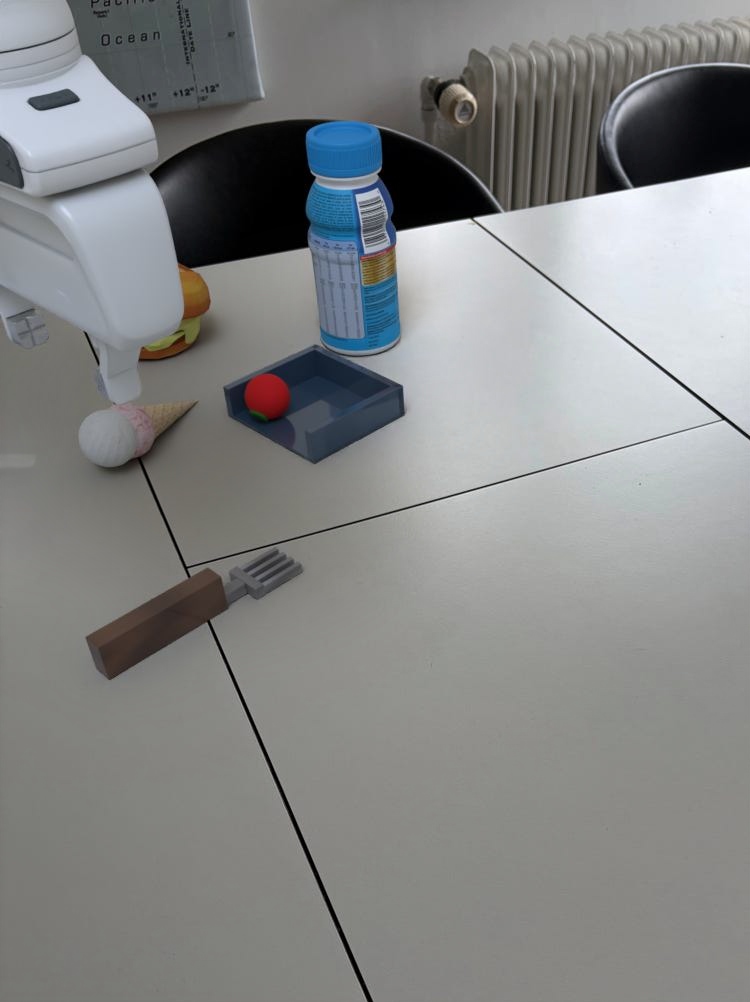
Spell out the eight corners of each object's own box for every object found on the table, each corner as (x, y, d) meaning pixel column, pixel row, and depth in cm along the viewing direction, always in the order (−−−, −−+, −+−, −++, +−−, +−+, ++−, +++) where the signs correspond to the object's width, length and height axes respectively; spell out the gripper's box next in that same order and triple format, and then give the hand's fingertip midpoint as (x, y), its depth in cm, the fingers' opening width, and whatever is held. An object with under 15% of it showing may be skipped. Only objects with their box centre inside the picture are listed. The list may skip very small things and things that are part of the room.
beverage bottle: (316, 359, 103) (290, 147, 90) (323, 321, 110) (299, 117, 96) (401, 358, 104) (388, 145, 90) (403, 319, 110) (391, 115, 96)
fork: (116, 685, 70) (104, 653, 68) (89, 663, 71) (78, 631, 69) (303, 571, 79) (298, 540, 77) (276, 554, 80) (270, 523, 78)
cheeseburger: (115, 317, 110) (116, 224, 104) (216, 341, 112) (223, 251, 105) (85, 361, 103) (84, 265, 96) (194, 386, 104) (200, 293, 98)
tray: (228, 415, 96) (222, 386, 94) (318, 372, 101) (315, 343, 99) (314, 463, 90) (310, 433, 88) (405, 414, 96) (403, 385, 93)
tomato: (305, 391, 95) (287, 431, 94) (272, 381, 96) (254, 420, 96) (281, 371, 91) (262, 413, 91) (247, 361, 93) (228, 402, 92)
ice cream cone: (171, 404, 99) (59, 450, 87) (187, 364, 96) (74, 406, 84) (209, 435, 99) (103, 485, 87) (226, 396, 96) (119, 442, 84)
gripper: (-166, 76, 53) (-67, 331, 62) (48, 167, 43) (128, 456, 52) (-49, 51, 56) (28, 297, 65) (176, 130, 46) (229, 408, 55)
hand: (74, 368), depth 59 cm, fingers open, 8 cm apart
